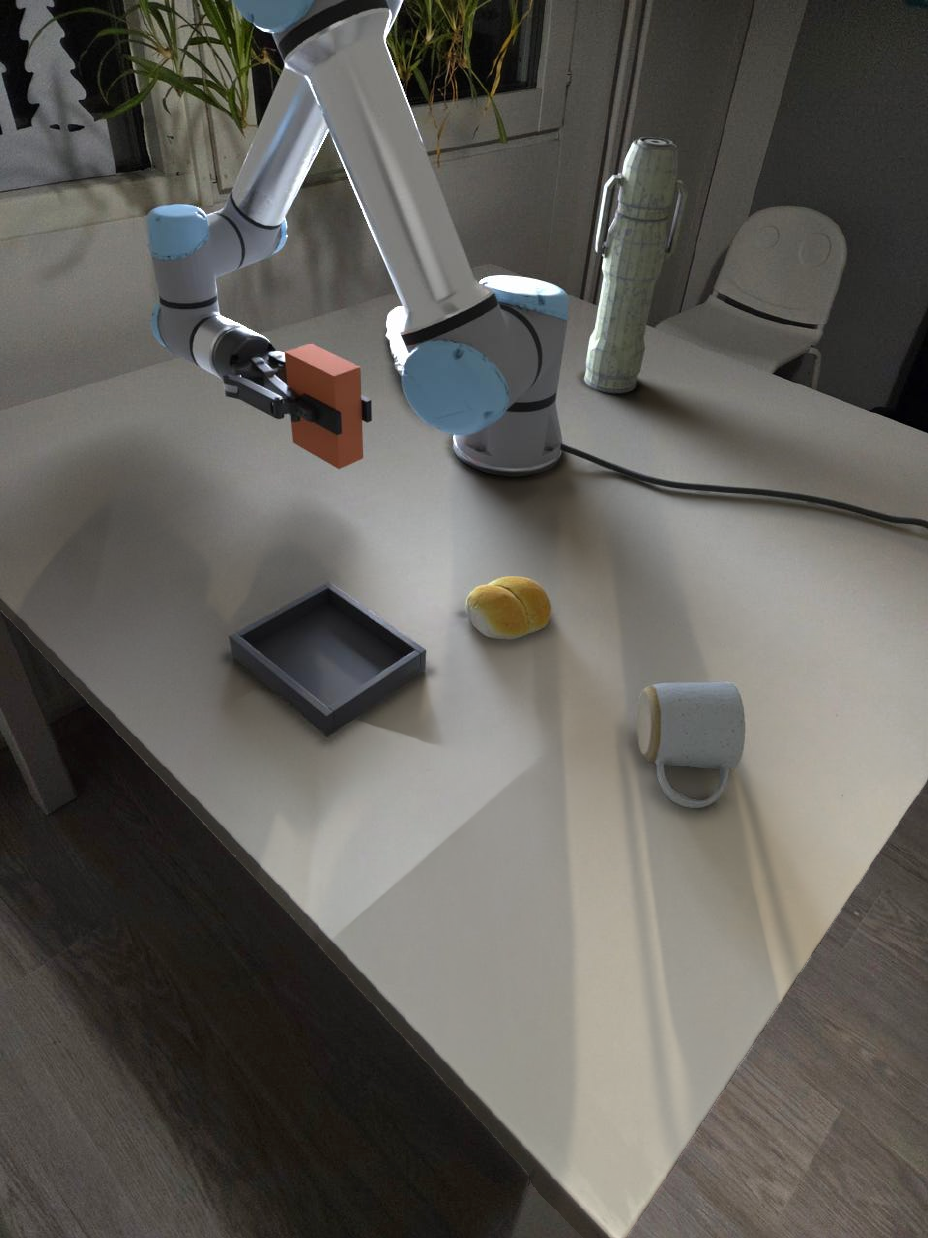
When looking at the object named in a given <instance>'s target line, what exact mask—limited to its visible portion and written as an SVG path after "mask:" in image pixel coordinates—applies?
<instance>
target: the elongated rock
mask: <svg viewBox="0 0 928 1238" xmlns="http://www.w3.org/2000/svg"><path fill="white" fill-rule="evenodd" d="M404 314H405V313H404V307H403V305H402V306H401V305H400V306H397V307H394V309H392V310H391V311H390V312H389V313H388V314H387V317H386V322H385V327H386V329H387V331H386V334H385V338H386V340H387V341H389V344H390V345H389V347H390V353H391V356H392V357H393V361H394V368H395V370H396V371H397V372H398V373H399V376H400V377H402V373H403V371H404V366H403V365H404V363H405V360H406V358H407V357H408V355H409V354H408V352H407V349H406V347H405V344H404V342H403V340H402V337H401V335H400V332H399V329H400V326H401V323H402V320H403V317H404Z"/></svg>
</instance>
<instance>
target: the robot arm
mask: <svg viewBox="0 0 928 1238" xmlns="http://www.w3.org/2000/svg"><path fill="white" fill-rule="evenodd" d="M403 1H404V0H231V2H232V3H233V5H234V7H235V9H236V10H237V11H238V13H239V14H240V15H241V16H242V17H243V18H244V20H246V21H247V22H249V23H252V25H254V27H256V28H257V29H259V30H260V31H262V32H266V33H268V34H271V35H272V39H273V40H274V42H275V45H276V47H277V50H278V52H279V54H280V57H281V60H282V61H283V63H284V66H283V68H282V71H281V73H280V76H279V78H278V80H277V83H276V85H275V87H274V90H273V93H272V95H271V97H270V99H269V102H268V104H267V106H266V109H265V111H264V114H263V116H262V119H261V121H260V123H259V125H258V128H257V131H256V132H255V135H254V138H253V140H252V142H251V145H250V147H249V149H248V152H247V154H246V156H245V159H244V161H243V163H242V166H241V168H240V170H239V173H238V175H237V178H236V180H235V183H234V184H233V187H232V189H231V191H230V194H229V195H228V197H227V201H226V203H225V204H224V207H223V208H222V209H219V210H216V211H214V212H210V213H207V214H206V213H205V211H204V210H202V208H199V207H197V206H194V205H190V204H182V203H181V204H177V203H176V204H175V203H174V204H170V205H159V206H157V207H154V208H152V209H151V210H149V212H148V213H147V215H146V218H145V221H146V223H145V224H146V234H147V240H148V241H147V242H148V244H147V246H148V251H149V254H150V256H151V262H152V266H153V271H154V276H155V281H156V286H157V290H158V292H157V293H158V297H159V299H158V301H157V303H156V304H155V305H154V307H153V308H152V313H151V317H150V320H149V321H150V329H151V332H152V334H153V337H154V338H155V340H156V341H157V342H158V343H159V344H160V346H163V347H164V348H165V349H167V350H168V351H169V352H170V353H171V354H173V355H174V356H175V357H178V358H181V359H184V360H185V361H188V362H189V363H192V364H194V365H195V366H197V367H199V368H200V369H202V370H204V371H206V372H208V373H210V374H211V375H213V376H215V377H216V378H218V379H220V380H222V381H223V387H224V394H225V397H228V398H231V399H236V400H239V401H242V402H244V403H245V404H247V405H249V406H251V407H253V408H254V409H257V410H258V411H261V412H262V413H265V414H266V415H268V416H270V417H272V418H274V419H276V420H282V419H284V418H285V415H289V417H290V422H291V421H292V422H298V421H300V417H301V418H303V419H304V420H306V421H308V422H314V423H316V424H318V425H319V426H321V427H323V428H325V429H327V430H328V431H330V432H332V433H334V434H336V435H339V434H342V420H341V412H340V411H338V410H336V409H334V408H332V407H330V406H328V405H326V404H324V403H323V402H321V401H319V400H317V399H315V398H313V397H311V396H309V395H307V394H306V393H305V394H302V395H300V397H301V400H300V399H299V398H298V394H296V393H295V392H294V391H293V390H292V389H291V388H289V387H288V385H287V374H286V363H285V353H284V352H282V351H278V350H277V349H276V348H275V347H274V345H273V343H271V342H270V340H269V339H268V338H266V336H264V335H261V334H259V333H258V332H255V331H254V330H252V329H249V328H247V327H246V326H244V325H242V324H240V323H238V322H235V321H233V320H232V319H230V318H227V317H225V316H223V315H221V313H220V307H219V300H218V299H219V295H218V287H217V281H216V280H217V279H218V278H220V277H222V276H225V275H227V274H230V273H233V272H235V271H238V270H240V269H243V268H245V267H247V266H250V265H252V264H255V263H258V262H261V261H265V260H268V259H269V258H271V257H272V256H273V255H275V254H276V253H279V252H280V251H281V250H282V249H283V248H284V246H285V245H286V242H287V240H288V223H287V220H286V217H287V214H288V212H289V210H290V209H291V206H292V205H293V202H294V201H295V198H296V196H297V195H298V192H299V190H300V188H301V186H302V185H303V182H304V180H305V178H306V176H307V174H308V172H309V171H310V169H311V167H312V165H313V162H314V160H315V158H316V157H317V155H318V153H319V150H320V148H321V146H322V144H323V142H324V140H325V138H326V137H327V134H328V133H329V134H330V136H331V139H332V141H333V143H334V146H335V148H336V150H337V153H338V155H339V158H340V160H341V162H342V164H343V167H344V169H345V172H346V174H347V177H348V179H349V182H350V185H351V186H352V189H353V191H354V194H355V196H356V198H357V201H358V203H359V205H360V208H361V209H362V213H363V215H364V218H365V220H366V222H367V224H368V227H369V229H370V231H371V234H372V236H373V238H374V239H373V240H374V242H375V244H376V245H377V248H378V250H379V253H380V256H381V259H382V260H383V262H384V264H385V267H386V269H387V272H388V274H389V277H390V279H391V281H392V284H393V286H394V288H395V290H396V294H397V295H398V296H397V297H398V299H399V301H400V303H401V305H402V306H403V307H404V313H405V314H404V317H403V320H402V323H401V326H400V329H399V332H400V335H401V337H402V340H403V342H404V344H405V347H406V349H407V352H408V354H409V355H408V357H407V358H406V360H405V363H404V365H403V366H404V371H403V373H402V376H401V386H402V390H403V394H404V396H405V398H406V401H407V403H408V404H409V406H410V407H411V409H412V410H413V412H414V413H415V414H416V415H417V416H418V417H419V418H420V419H421V420H422V421H423V422H424V423H426V424H427V425H428V426H430V427H431V428H436V429H438V430H439V431H440V432H441V433H444V434H447V435H452V436H453V445H452V446H453V450H454V453H455V455H456V456H457V457H458V458H459V459H460V460H461V461H462V462H463V463H465V464H466V465H468V466H470V467H471V468H473V469H476V470H478V471H480V472H484V473H487V474H491V475H496V476H503V477H526V476H534V475H537V474H541V473H544V472H546V471H549V470H550V469H552V468H554V467H555V466H556V465H557V464H558V463H559V461H560V460H561V456H562V451H563V452H565V453H568V454H570V455H573V456H575V457H578V458H581V459H583V460H586V461H588V462H590V463H593V464H595V465H598V466H600V467H603V468H605V469H608V470H611V471H613V472H616V473H619V474H621V475H623V476H626V477H629V478H631V479H635V480H638V481H641V482H644V483H649V484H651V485H656V486H660V487H665V488H672V489H679V490H688V491H701V492H702V491H703V492H711V493H712V492H713V493H724V494H725V493H726V494H737V495H738V494H739V495H751V496H752V495H753V496H763V497H771V498H778V499H779V498H780V499H787V500H788V499H789V500H794V501H801V502H807V503H813V504H818V505H823V506H828V507H832V508H836V509H840V510H844V511H848V512H852V513H855V514H859V515H861V516H865V517H869V518H872V519H876V520H879V521H883V522H887V523H893V524H900V525H909V526H911V525H912V526H918V527H923V528H925V529H926V530H928V520H926V519H922V518H918V517H917V518H916V517H906V516H896V515H891V514H886V513H884V512H883V513H882V512H879V511H875V510H871V509H868V508H865V507H861V506H857V505H855V504H851V503H847V502H843V501H839V500H834V499H830V498H825V497H820V496H815V495H811V494H804V493H799V492H790V491H783V490H775V489H768V488H759V487H758V488H757V487H745V486H744V487H743V486H731V485H716V484H706V483H694V482H693V483H692V482H682V481H674V480H670V479H669V480H668V479H663V478H658V477H655V476H651V475H647V474H643V473H640V472H637V471H635V470H631V469H629V468H627V467H624V466H621V465H618V464H616V463H613V462H610V461H607V460H605V459H602V458H600V457H598V456H596V455H593V454H591V453H588V452H586V451H583V450H581V449H578V448H575V447H572V446H570V445H567V444H564V443H563V436H562V430H561V425H560V420H559V415H558V410H557V405H556V400H557V392H558V389H559V381H560V374H561V367H562V362H563V361H562V360H563V354H564V348H565V340H566V335H567V328H568V322H569V321H570V317H569V311H570V310H569V308H570V299H569V295H568V293H567V292H566V291H565V290H564V289H563V288H561V287H559V286H558V285H556V284H553V283H551V282H547V281H544V280H540V279H536V278H532V277H531V278H530V277H525V276H517V275H516V276H515V275H490V276H487V277H484V278H483V279H481V280H480V281H478V280H477V279H475V276H474V274H473V271H472V268H471V265H470V263H469V260H468V258H467V255H466V252H465V250H464V247H463V245H462V241H461V239H460V237H459V233H458V231H457V229H456V226H455V223H454V221H453V218H452V215H451V213H450V210H449V208H448V204H447V202H446V200H445V197H444V194H443V191H442V189H441V185H440V184H439V180H438V179H437V178H438V177H437V176H436V173H435V171H434V168H433V164H432V163H431V160H430V157H429V155H428V152H427V149H426V146H425V143H424V141H423V139H422V136H421V134H420V131H419V127H418V125H417V123H416V120H415V118H414V115H413V112H412V109H411V107H410V104H409V102H408V99H407V97H406V96H407V95H406V94H405V91H404V88H403V85H402V83H401V80H400V77H399V75H398V72H397V70H396V67H395V65H394V62H393V60H392V56H391V53H390V51H389V48H388V46H387V43H386V39H387V37H388V35H389V33H390V31H391V29H392V27H393V24H394V23H395V20H396V18H397V16H398V14H399V12H400V9H401V7H402V4H403ZM361 402H362V422H365V423H370V422H373V412H372V411H373V410H372V399H370V398H368V397H366V396H364V395H362V394H361Z"/></svg>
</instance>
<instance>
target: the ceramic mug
mask: <svg viewBox="0 0 928 1238" xmlns="http://www.w3.org/2000/svg"><path fill="white" fill-rule="evenodd" d="M744 707H745V706H744V703H743V698H742V695H741V692H740V691H739V689H738V687H737V686H736V684H735V683H734V682H731V681H711V682H710V681H702V682H701V681H700V682H699V681H698V682H697V681H696V682H693V681H691V682H659V683H656V684H650V685H648V686H646V687H645V688H643V689H642V691H641V692H640V694H639V697H638V702H637V708H636V736H637V737H636V738H637V743H638V748H639V751H640V754H641V755H642V758H644V759H645V760H646V761H647V762H650V763H654V764H655V765H656V777H657V780H658V783H659V786H660V788H661V791H663V793H664V795H665V796H666V797H667V798H668V799H669V800H671V802H674V803H675V804H677V805H679V806H682V807H684V808H685V807H686V808H691V809H701V808H704V807H707V806H709V805H711V804H713V803H714V802H716V801H717V800H718V799H719V798H720V797H721V796H722V794H723V793H724V791H725V789H726V786H727V782H728V779H729V778H728V777H729V771H730V770H733V769H735V768H736V767H737V766H738V765H739V763H740V761H741V759H742V757H743V752H744V749H745V741H746V714H745V708H744ZM665 766H670V767H671V766H672V767H691V768H692V767H693V768H702V769H713V770H714V769H715V770H719V772H720V773H719V780H718V781H719V782H718V785H717V788H716V790H715V792H714V793H712V794H711V795H710V796H709V797H708V798H706V799H695V798H690V797H688V796H686V795H685V794H683V793H679V792H678V791H677V790H675V789H673V787H671V784H670V783H669V781H668V780H667V775H666V771H665Z"/></svg>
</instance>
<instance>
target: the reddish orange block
mask: <svg viewBox="0 0 928 1238" xmlns="http://www.w3.org/2000/svg"><path fill="white" fill-rule="evenodd" d="M283 353H285V363H286V374H287V385H288V387H289V388H291V389H292V390H293V391H294V392H295V393H296V394H298V398H299V399H300V400H301V397H300V395H302V394H305V393H306V394H307V395H309V396H311V397H313V398H315V399H317V400H319V401H321V402H323V403H324V404H326V405H328V406H330V407H332V408H334V409H336V410H338V411H340V412H341V420H342V434H339V435H336V434H334V433H332V432H330V431H328V430H327V429H325V428H323V427H321V426H319V425H318V424H316V423H314V422H308V421H306V420H304V419H303V418H301V417H300V421H298V422H292V421H291V420H290V427H291V437H292V443H293V444H295V445H297V447H299V448H301V449H303V450H305V451H307V452H308V453H310V454H312V455H314V456H315V457H317V458H319V459H321V460H322V461H324V462H325V463H327V464H329V465H331V466H333V467H334V468H336V469H338V470H340V469H343V468H345V467H347V466H350V465H352V464H354V463H356V462H359V461H361V460H363V459H364V441H363V440H364V438H363V437H364V435H363V420H362V402H361V395H362V376H361V375H362V374H361V372H362V371H361V370H362V369H361V366H359V365H357V364H355V363H353V362H351V361H349V360H347V359H345V358H343V357H340V356H338V355H337V354H334V353H332V352H330V351H328V350H326V349H324V348H322V347H319V346H318V345H315V344H314V343H307V344H304V345H301V346H298V347H295V348H292V349H289V350H285V351H284V352H283Z"/></svg>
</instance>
